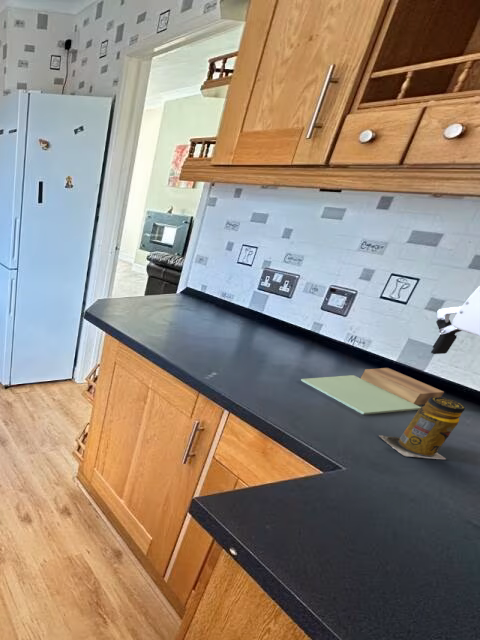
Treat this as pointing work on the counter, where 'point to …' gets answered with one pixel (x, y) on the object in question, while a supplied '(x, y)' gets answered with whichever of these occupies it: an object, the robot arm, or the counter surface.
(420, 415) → the condiment
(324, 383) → the mat
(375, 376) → the step
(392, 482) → the counter surface
